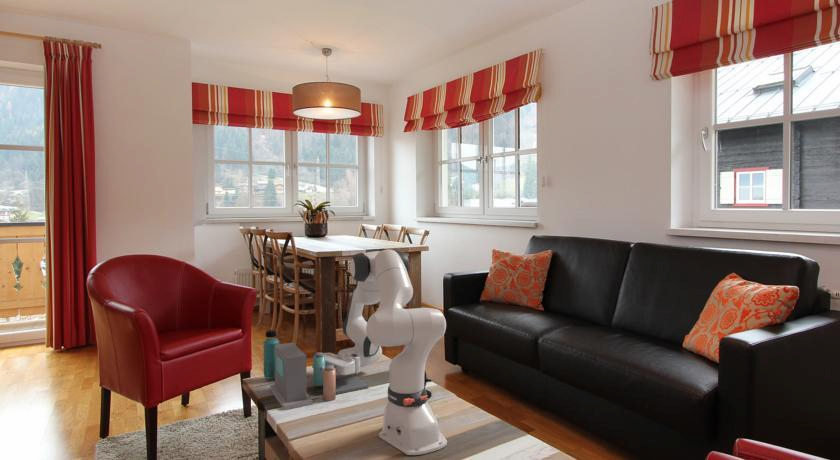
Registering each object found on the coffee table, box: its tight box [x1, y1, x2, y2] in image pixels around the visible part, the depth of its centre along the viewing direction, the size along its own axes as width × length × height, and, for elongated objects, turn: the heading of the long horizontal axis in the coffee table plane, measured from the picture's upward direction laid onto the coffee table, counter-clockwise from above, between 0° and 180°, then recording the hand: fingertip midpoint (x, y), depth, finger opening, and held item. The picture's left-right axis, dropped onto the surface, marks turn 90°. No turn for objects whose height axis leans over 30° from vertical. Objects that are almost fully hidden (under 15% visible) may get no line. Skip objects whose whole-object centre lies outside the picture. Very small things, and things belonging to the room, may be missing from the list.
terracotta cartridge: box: [322, 365, 337, 402], centre depth 182 cm, size 4×4×12 cm
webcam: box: [424, 370, 433, 399], centre depth 185 cm, size 8×8×10 cm
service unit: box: [269, 342, 314, 411], centre depth 184 cm, size 22×10×18 cm, turn 29°
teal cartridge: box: [312, 351, 325, 387], centre depth 192 cm, size 4×4×12 cm
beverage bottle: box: [262, 329, 280, 379], centre depth 201 cm, size 6×7×20 cm
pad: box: [336, 374, 369, 396], centre depth 195 cm, size 13×13×1 cm
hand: (317, 368), depth 191 cm, fingers closed on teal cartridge, 4 cm apart
